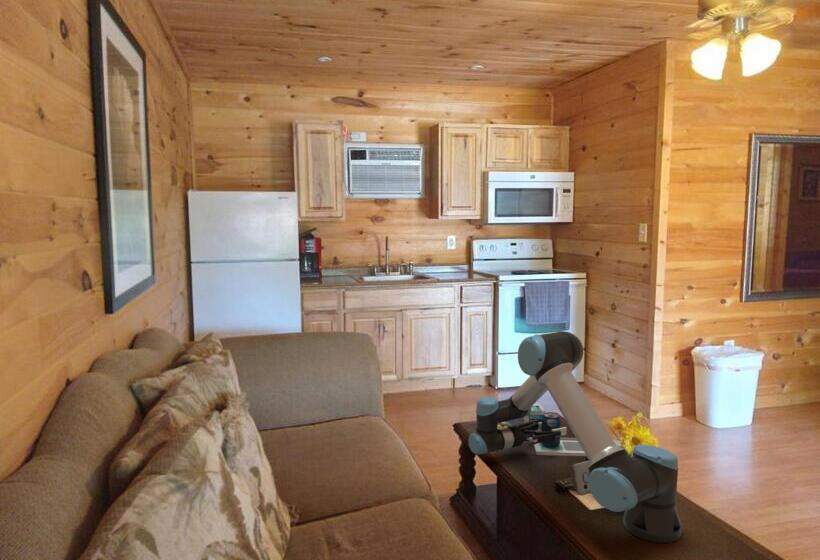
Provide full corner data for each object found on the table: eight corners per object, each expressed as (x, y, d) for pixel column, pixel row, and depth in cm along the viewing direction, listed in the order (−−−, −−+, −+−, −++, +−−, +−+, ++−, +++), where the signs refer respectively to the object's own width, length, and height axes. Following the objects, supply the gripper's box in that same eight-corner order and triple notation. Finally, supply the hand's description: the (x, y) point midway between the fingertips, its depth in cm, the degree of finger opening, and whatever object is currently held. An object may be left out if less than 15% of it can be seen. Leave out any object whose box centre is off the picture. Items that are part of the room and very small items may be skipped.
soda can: (557, 450, 210) (557, 419, 209) (538, 446, 213) (539, 416, 212) (562, 443, 216) (562, 413, 214) (544, 440, 219) (544, 410, 218)
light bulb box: (545, 436, 227) (545, 410, 225) (528, 436, 227) (528, 410, 225) (539, 426, 237) (540, 401, 236) (523, 426, 237) (523, 401, 236)
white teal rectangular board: (591, 456, 208) (591, 453, 207) (536, 454, 209) (536, 451, 209) (583, 441, 221) (583, 438, 221) (531, 439, 223) (531, 436, 223)
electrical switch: (579, 495, 179) (578, 466, 179) (568, 490, 184) (567, 461, 184) (602, 489, 183) (601, 461, 183) (590, 484, 188) (589, 456, 188)
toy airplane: (489, 433, 230) (489, 418, 229) (509, 431, 232) (510, 416, 232) (498, 442, 221) (498, 426, 220) (519, 439, 224) (519, 424, 223)
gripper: (493, 437, 215) (542, 427, 225) (525, 457, 197) (576, 446, 207) (494, 418, 214) (543, 409, 224) (525, 437, 197) (577, 426, 206)
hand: (559, 427), depth 216 cm, fingers closed on soda can, 7 cm apart
